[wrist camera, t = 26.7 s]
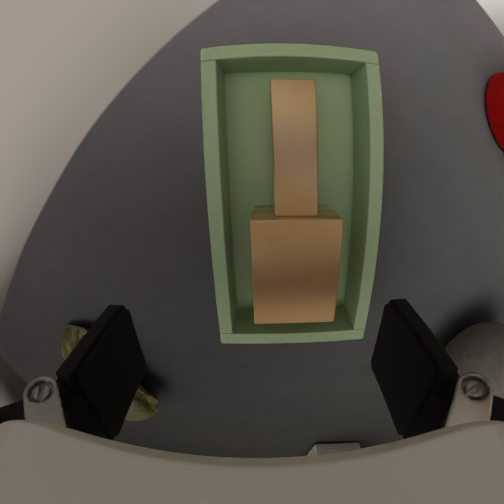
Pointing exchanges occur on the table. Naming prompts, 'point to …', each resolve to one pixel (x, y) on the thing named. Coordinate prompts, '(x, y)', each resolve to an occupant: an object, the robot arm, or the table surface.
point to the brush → (295, 219)
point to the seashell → (143, 401)
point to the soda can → (496, 106)
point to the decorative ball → (481, 353)
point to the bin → (261, 174)
